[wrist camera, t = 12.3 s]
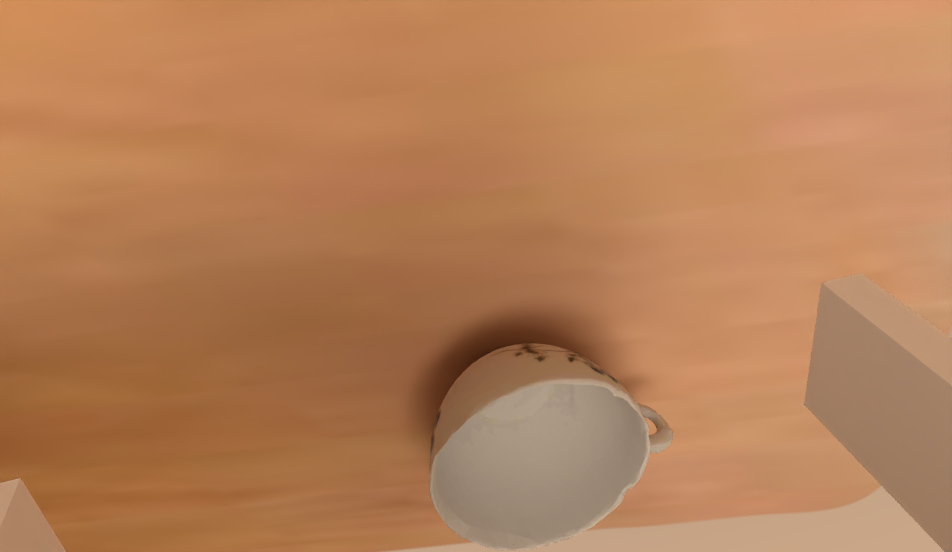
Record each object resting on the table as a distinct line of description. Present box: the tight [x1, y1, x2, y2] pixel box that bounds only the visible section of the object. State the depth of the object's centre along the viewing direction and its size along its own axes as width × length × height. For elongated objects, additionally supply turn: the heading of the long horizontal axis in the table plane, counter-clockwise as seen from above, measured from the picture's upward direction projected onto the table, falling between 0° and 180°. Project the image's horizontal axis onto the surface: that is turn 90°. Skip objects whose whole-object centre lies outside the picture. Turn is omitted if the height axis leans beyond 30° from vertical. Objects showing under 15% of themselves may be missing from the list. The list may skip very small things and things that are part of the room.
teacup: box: [429, 343, 673, 551], centre depth 44 cm, size 15×12×8 cm
